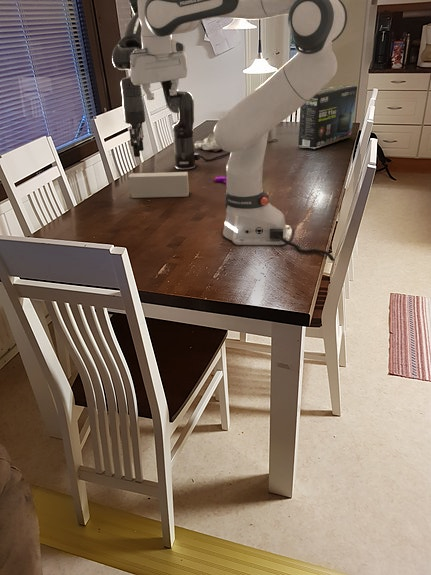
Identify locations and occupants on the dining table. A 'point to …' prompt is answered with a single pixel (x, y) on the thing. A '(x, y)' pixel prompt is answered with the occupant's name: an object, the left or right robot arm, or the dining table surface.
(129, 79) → the left robot arm
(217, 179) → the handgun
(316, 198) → the dining table surface
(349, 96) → the router box
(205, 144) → the fossil
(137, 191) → the bar
